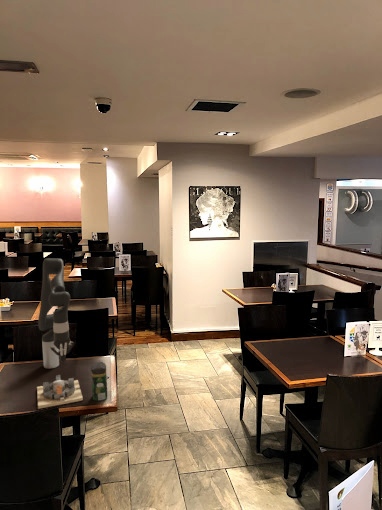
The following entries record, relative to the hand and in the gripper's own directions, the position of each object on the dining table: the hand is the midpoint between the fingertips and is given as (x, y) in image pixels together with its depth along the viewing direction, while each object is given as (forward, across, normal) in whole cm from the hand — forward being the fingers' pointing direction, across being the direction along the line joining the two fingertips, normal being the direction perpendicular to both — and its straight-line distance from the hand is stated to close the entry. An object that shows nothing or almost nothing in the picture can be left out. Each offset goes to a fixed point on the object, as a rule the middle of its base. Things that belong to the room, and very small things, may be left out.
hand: (62, 361), depth 211 cm
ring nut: (+19, +1, -6) cm, 20 cm away
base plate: (+21, +1, -6) cm, 22 cm away
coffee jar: (+21, -15, +10) cm, 28 cm away
